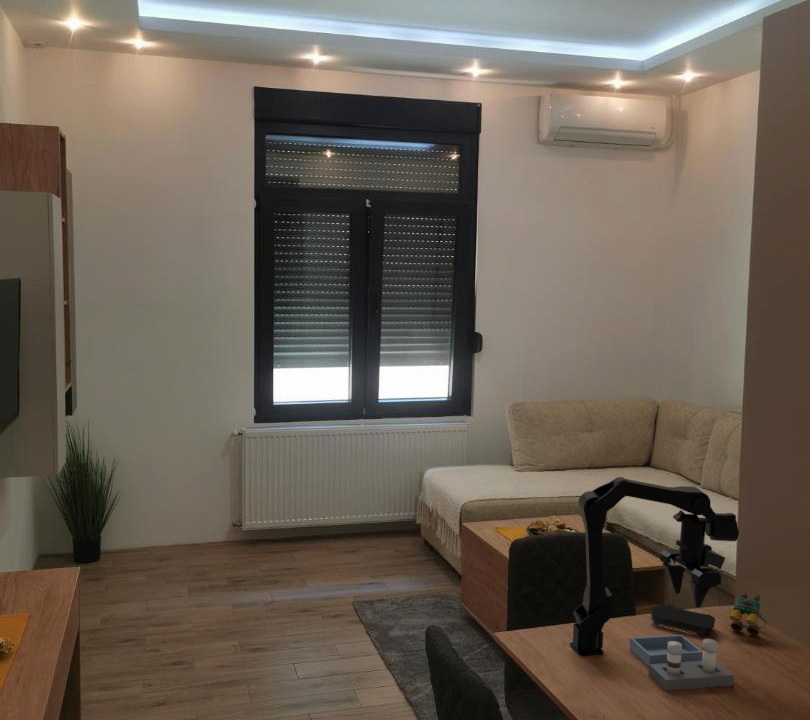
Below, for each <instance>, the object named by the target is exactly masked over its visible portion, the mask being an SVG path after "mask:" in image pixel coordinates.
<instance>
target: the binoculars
mask: <svg viewBox="0 0 810 720" xmlns="http://www.w3.org/2000/svg"><path fill="white" fill-rule="evenodd" d="M760 599H761V595H758V594H755V595H753V599H748V594H747V592H744V591H742V592H741V597H738V598H737V599H736V602H735V603H734V606H733V609H732V610H731V611H730V613H729V617H728V618H729V620H731V623H730V625H729V626H730V628H731V630H733V631H735V632H738V633H739V632H742V631H743V629H744V628H746V632H747V633H748V634H749V635H750V636H753V637H754V636H759V635H760V630H762V629H764V628H765V627H766V626H767V623H768V622H767V620H766V619H765V617H763V616H762V614H761V613H760V612H761V611H760V608H761V603H760ZM745 614H746V616H747V617H746V619H745V622H746V624H744V622H742V617H743V615H745ZM760 620H761V621H763V622H764V625H762V626H759V621H760Z"/></svg>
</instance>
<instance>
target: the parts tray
mask: <svg viewBox="0 0 810 720" xmlns="http://www.w3.org/2000/svg"><path fill="white" fill-rule="evenodd" d="M669 641H676V642H679V643H681V644H682V654H681V662H691V661H702V656H703V649H702V650H701V648H699V647H698V646H696V645H695V644H694V643H693V642H692V641H690V640H689V639H688V638H687V637H685V636H684V635H683V634H671V635H656V636H655V635H654V636H640V637H639V636H638V637H637V636H636V637H629V648H628V649H630V650H629V651H630V652H632V653H633V654H634V655H635V656H636V657H637V658H638V659H639V660H640V661H641V662H644V663H643V664H644V665H645V666H646V667H648V668H649V664H662V663H667V655H668V652H667V647H668V642H669Z"/></svg>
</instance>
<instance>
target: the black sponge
mask: <svg viewBox="0 0 810 720" xmlns="http://www.w3.org/2000/svg"><path fill="white" fill-rule="evenodd" d="M651 611H652V612H651V613H650V615H651V617H650V624H651V626H653V625H654V626H653V627H658V626H661V627H660V628H662V627H667V628H672V629H677V630H681V631H685V632H688V633H691V634H690V635H692V634H695V635H694V636H696V635H697V637H699V636H700V637H699V638H707V637H709V636H710V635H711V633H712V631H713V629H714V628H715V623H716V618H715V617H714V616H712V615H710V614H705V613H700V612H697V611H690V610H686V609H682V608H677V607H672V606H668V605H664V604H659V605H656V606H653V607H652V608H651ZM688 633H687V634H688Z"/></svg>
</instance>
